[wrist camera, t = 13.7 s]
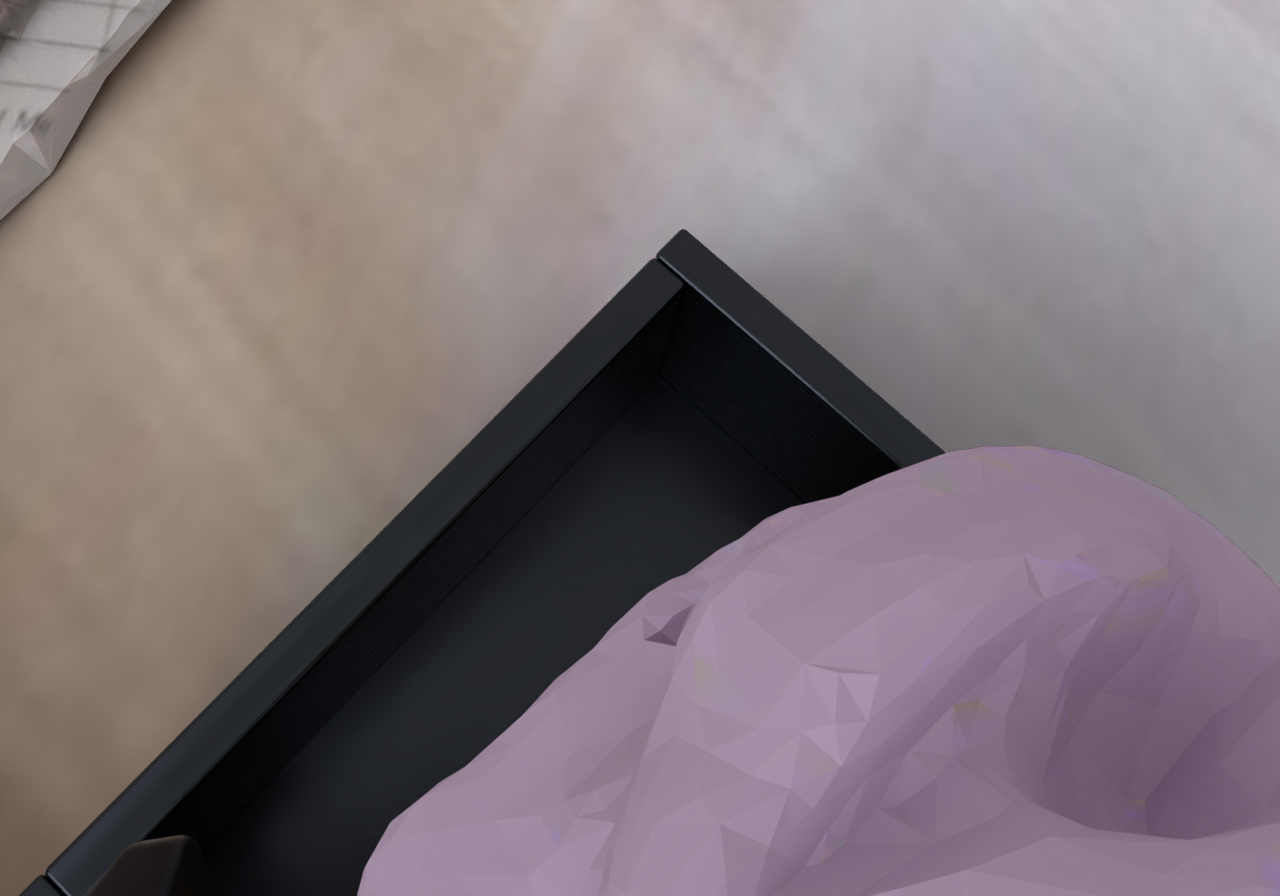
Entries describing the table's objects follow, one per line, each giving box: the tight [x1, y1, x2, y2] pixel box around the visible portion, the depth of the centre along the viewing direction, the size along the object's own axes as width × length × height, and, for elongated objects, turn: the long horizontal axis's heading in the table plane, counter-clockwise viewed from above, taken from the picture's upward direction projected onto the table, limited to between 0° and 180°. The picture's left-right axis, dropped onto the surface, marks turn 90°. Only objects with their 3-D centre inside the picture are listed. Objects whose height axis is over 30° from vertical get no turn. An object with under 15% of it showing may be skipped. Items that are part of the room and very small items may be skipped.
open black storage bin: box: [19, 229, 945, 896], centre depth 15 cm, size 12×12×4 cm
